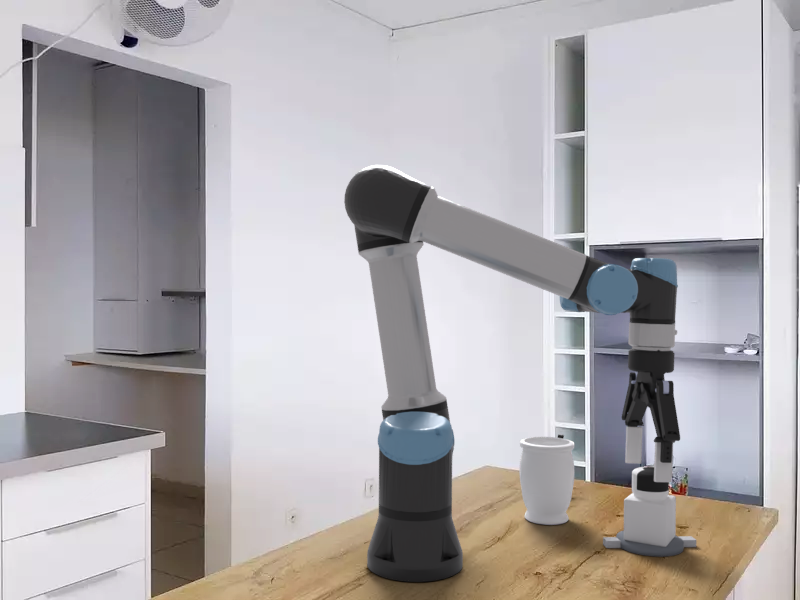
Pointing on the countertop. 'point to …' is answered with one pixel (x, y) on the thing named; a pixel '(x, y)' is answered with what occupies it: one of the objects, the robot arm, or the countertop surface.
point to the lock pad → (650, 550)
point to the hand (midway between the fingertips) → (647, 472)
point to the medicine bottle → (649, 510)
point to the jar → (546, 478)
